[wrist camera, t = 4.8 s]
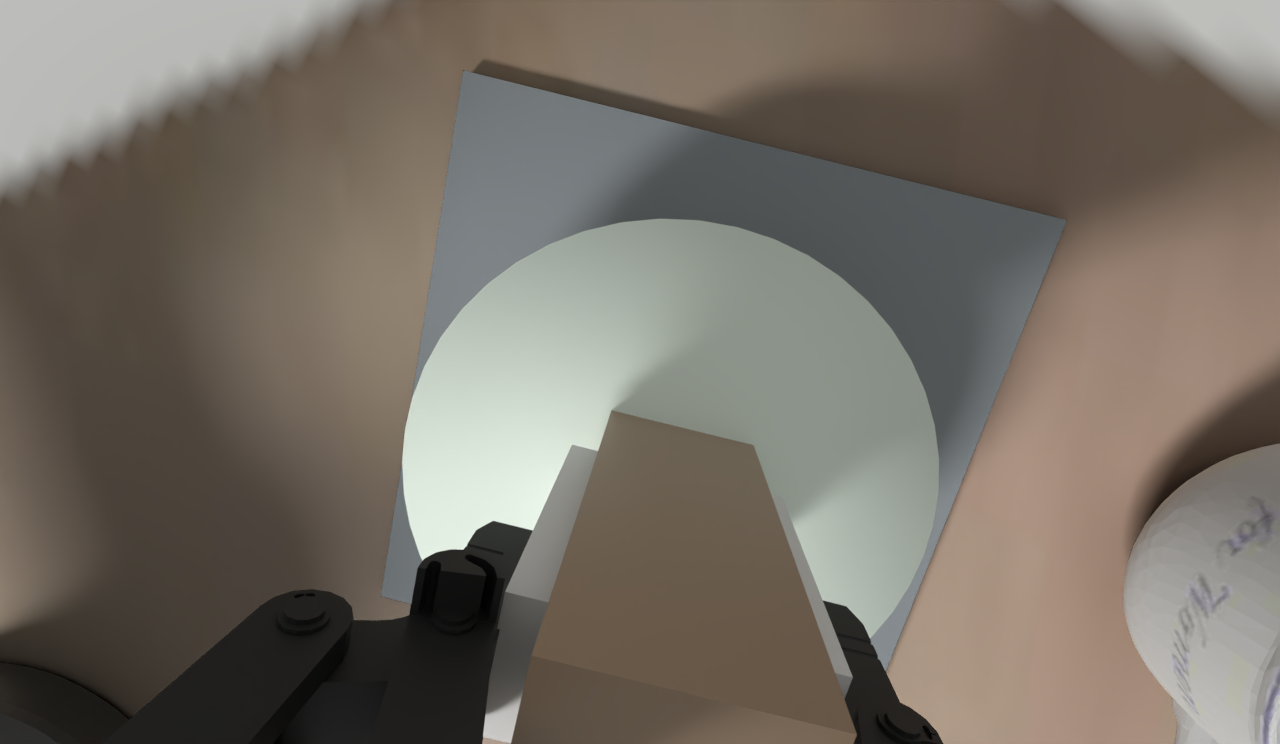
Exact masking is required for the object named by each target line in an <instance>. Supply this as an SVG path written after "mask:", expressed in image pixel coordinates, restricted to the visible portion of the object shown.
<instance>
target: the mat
mask: <svg viewBox="0 0 1280 744" xmlns="http://www.w3.org/2000/svg"><path fill="white" fill-rule="evenodd" d="M650 219H682V220H700V221H706V222H712V223H717V224H723V225H729V226H734V227H739V228H742V229H745V230H748V231H751V232H754V233H757V234H760V235H763V236H767V237H770V238H773V239H775V240H777V241H779V242H781V243H784V244H786V245H788V246H790V247H792V248H794V249H796V250H798V251H800V252H802V253H804V254H807V255H809V256H810V257H812V258H813V259H815V260H816V261H818V262H819V263H821V264H822V265H824V266H825V267H827V268H828V269H830V270H831V271H833V272H834V273H836V274H837V275H839V276H840V277H841V278H842V279H844V280H845V281H846V282H847V283H848V284H849V285H850V286H852V287H853V288H854V289H855V290H856V291H857V292H858V293H859V294H861V295H862V296H863V297H864V298H865V299H866V300H867V301H868V302H869V303H870V304H871V305H872V306H873V308H874V309H875V310H876V311H877V312H878V313H879V315H880V316H881V317H882V318H883V319H884V320H885V322H886V323H887V324H888V325H889V326H890V327H891V329H892V330H893V332H894V333H895V335H896V336H897V338H898V340H899V341H900V343H901V344H902V346H903V348H904V349H905V351H906V352H907V354H908V355H909V357H910V359H911V361H912V363H913V365H914V367H915V370H916V372H917V374H918V376H919V379H920V381H921V383H922V385H923V388H924V390H925V392H926V396H927V399H928V403H929V407H930V410H931V414H932V417H933V421H934V424H935V431H936V439H937V447H938V455H939V491H938V499H937V505H936V511H935V517H934V523H933V527H932V531H931V534H930V537H929V540H928V543H927V547H926V550H925V553H924V556H923V559H922V561H921V563H920V565H919V567H918V569H917V571H916V573H915V576H914V578H913V580H912V582H911V584H910V586H909V588H908V589H907V591H906V592H905V594H904V595H903V597H902V598H901V600H900V602H899V603H898V605H897V606H896V608H895V609H894V611H893V612H892V614H891V615H890V616H889V617H888V618H887V620H886V621H885V622H884V623H883V624H882V625H881V627H880V628H879V629H878V630H877V631H876V633H875V634H874V635H873V636H872V637H871V638H870V640H871V645H873V646H874V648H875V650H876V653H877V655H878V659H879V660H880V661H881V663H882V665H883V668H884V670H885V671H886V669H887V666H888V664H889V661H890V659H891V656H892V654H893V651H894V649H895V646H896V644H897V641H898V639H899V636H900V634H901V631H902V629H903V626H904V624H905V621H906V619H907V616H908V614H909V612H910V609H911V607H912V604H913V602H914V599H915V597H916V594H917V592H918V589H919V587H920V584H921V582H922V579H923V577H924V574H925V572H926V569H927V567H928V564H929V562H930V559H931V557H932V554H933V552H934V549H935V547H936V544H937V542H938V539H939V537H940V534H941V532H942V530H943V527H944V525H945V522H946V520H947V517H948V515H949V512H950V510H951V507H952V505H953V502H954V500H955V497H956V495H957V492H958V490H959V487H960V485H961V482H962V480H963V477H964V475H965V472H966V470H967V467H968V465H969V462H970V460H971V457H972V455H973V452H974V450H975V447H976V445H977V443H978V440H979V438H980V435H981V433H982V430H983V428H984V425H985V423H986V420H987V418H988V415H989V413H990V410H991V408H992V405H993V403H994V400H995V398H996V395H997V393H998V390H999V388H1000V385H1001V383H1002V380H1003V378H1004V375H1005V373H1006V370H1007V368H1008V365H1009V363H1010V361H1011V358H1012V356H1013V353H1014V351H1015V348H1016V346H1017V343H1018V341H1019V338H1020V336H1021V333H1022V331H1023V328H1024V326H1025V323H1026V321H1027V318H1028V316H1029V313H1030V311H1031V308H1032V306H1033V303H1034V301H1035V298H1036V296H1037V293H1038V291H1039V288H1040V286H1041V283H1042V281H1043V279H1044V276H1045V274H1046V271H1047V269H1048V266H1049V264H1050V261H1051V259H1052V256H1053V254H1054V251H1055V249H1056V246H1057V244H1058V241H1059V239H1060V236H1061V234H1062V231H1063V229H1064V226H1065V224H1066V221H1067V220H1065V219H1061V218H1056V217H1052V216H1048V215H1044V214H1040V213H1036V212H1032V211H1028V210H1024V209H1020V208H1016V207H1012V206H1008V205H1004V204H1000V203H996V202H992V201H988V200H984V199H980V198H976V197H972V196H968V195H964V194H960V193H956V192H952V191H948V190H944V189H940V188H936V187H932V186H928V185H923V184H919V183H915V182H911V181H907V180H903V179H899V178H895V177H891V176H887V175H883V174H879V173H875V172H871V171H867V170H863V169H859V168H855V167H851V166H847V165H843V164H839V163H835V162H831V161H827V160H823V159H819V158H815V157H811V156H807V155H803V154H799V153H795V152H791V151H786V150H782V149H778V148H774V147H770V146H766V145H762V144H758V143H754V142H750V141H746V140H742V139H738V138H734V137H730V136H726V135H722V134H718V133H714V132H710V131H706V130H702V129H698V128H694V127H690V126H686V125H682V124H678V123H674V122H670V121H666V120H662V119H658V118H653V117H649V116H645V115H641V114H637V113H633V112H629V111H625V110H621V109H617V108H613V107H609V106H605V105H601V104H597V103H593V102H589V101H585V100H581V99H577V98H573V97H569V96H565V95H561V94H557V93H553V92H549V91H545V90H541V89H537V88H533V87H529V86H525V85H521V84H516V83H512V82H508V81H504V80H500V79H496V78H492V77H488V76H484V75H480V74H476V73H472V72H468V71H464V70H463V75H462V82H461V88H460V94H459V101H458V107H457V113H456V120H455V126H454V133H453V139H452V145H451V152H450V158H449V164H448V171H447V177H446V184H445V190H444V196H443V203H442V209H441V215H440V222H439V228H438V234H437V241H436V247H435V254H434V260H433V266H432V273H431V279H430V285H429V292H428V298H427V305H426V311H425V317H424V324H423V330H422V336H421V343H420V349H419V356H418V362H417V368H416V375H415V381H414V387H413V394H412V397H413V395H414V392H415V389H416V387H417V384H418V382H419V379H420V376H421V374H422V371H423V369H424V366H425V364H426V363H427V361H428V359H429V357H430V355H431V354H432V352H433V350H434V348H435V346H436V345H437V343H438V341H439V339H440V337H441V336H442V335H443V333H444V332H445V331H446V329H447V328H448V327H449V325H450V324H451V323H452V321H453V320H454V319H455V318H456V316H457V315H458V314H459V312H460V311H461V310H462V308H463V307H464V306H465V305H467V304H468V303H469V302H470V301H471V300H472V299H473V298H474V297H475V296H476V295H477V294H478V293H479V292H480V291H481V290H482V289H483V288H484V287H485V286H486V285H487V284H488V283H489V282H491V281H492V280H493V279H495V278H496V277H497V276H499V275H500V274H501V273H503V272H504V271H505V270H507V269H508V268H509V267H511V266H512V265H513V264H515V263H516V262H518V261H520V260H521V259H523V258H525V257H527V256H529V255H531V254H532V253H534V252H536V251H538V250H540V249H541V248H543V247H545V246H547V245H549V244H551V243H554V242H557V241H559V240H562V239H564V238H567V237H570V236H572V235H575V234H577V233H580V232H583V231H586V230H590V229H595V228H599V227H603V226H607V225H612V224H616V223H620V222H629V221H640V220H650ZM411 401H412V400H411ZM402 458H403V457H402ZM421 562H422V559H421V557H420V554H419V551H418V548H417V545H416V542H415V539H414V536H413V533H412V530H411V527H410V524H409V518H408V513H407V508H406V503H405V497H404V487H403V469H402V464H401V470H400V477H399V483H398V489H397V496H396V502H395V508H394V515H393V521H392V527H391V534H390V540H389V547H388V553H387V559H386V566H385V572H384V578H383V585H382V591H381V597H385V598H389V599H393V600H397V601H400V602H404V603H408V604H411V603H412V597H413V591H414V586H415V580H416V574H417V568H418V567H419V565H420V564H421Z"/></svg>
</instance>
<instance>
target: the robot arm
mask: <svg viewBox="0 0 1280 744" xmlns="http://www.w3.org/2000/svg"><path fill="white" fill-rule="evenodd" d="M597 453H598V451H596V450H592V449H588V448H584V447H580V446H576V445H572V446H571V448H570V450H569V452H568V455H567V457H566V459H565V461H564V463H563V466H562V468H561V470H560V472H559V474H558V477H557V479H556V481H555V483H554V485H553V488H552V490H551V492H550V494H549V496H548V499H547V501H546V503H545V505H544V507H543V510H542V512H541V514H540V516H539V518H538V521H537V523H536V525H535V527H534V529H533V530H529V529H525V528H521V527H517V526H512V525H508V524H504V523H500V522H496V521H492V522H490V523H488V524H486V525H485V526H483V527H481V528H479V529H477V530H476V531H475V533H474V534H473V536H472V537H471V539H470V540H469V542H468V544H467V547H465V548H464V550H457V549H450V550H445V551H440V552H436V553H434V554H432V555H430V556H428V557H426V558H425V559H424V560H423V561H422V562H421V564H420V565H419V567H418V568H417V574H416V580H415V586H414V591H413V597H412V603H411V609H410V614H409V616H406V617H402V618H398V619H393V620H380V621H368V620H353V613H352V607H351V606H350V605H349V604H348V602H347V601H346V600H345V599H344V598H342V597H340V596H338V595H335V594H333V593H331V592H326V591H319V590H301V591H292V592H289V593H286V594H283V595H279V596H276V597H274V598H272V599H271V600H269V601H268V602H266V603H264V604H263V605H261V606H260V607H259V608H258V609H256V610H255V611H254V612H253V613H252V614H251V615H250V616H248V617H247V618H246V619H245V620H244V621H243V622H241V623H240V624H239V625H238V626H237V627H236V628H235V629H233V630H232V631H231V632H230V633H229V634H228V635H226V636H225V637H224V638H223V639H222V640H221V641H220V642H218V643H217V644H216V645H215V646H214V647H213V648H211V649H210V650H209V651H208V652H207V653H206V654H205V655H203V656H202V657H201V658H200V659H199V660H198V661H196V662H195V663H194V664H193V665H192V666H191V667H190V668H188V669H187V670H186V671H185V672H184V673H183V674H182V675H180V676H179V677H178V678H177V679H176V680H175V681H173V682H172V683H171V684H170V685H169V686H168V687H167V688H165V689H164V690H163V691H162V692H161V693H160V694H158V695H157V696H156V697H155V698H154V699H153V700H152V701H150V702H149V703H148V704H147V705H146V706H145V707H143V708H142V709H141V710H140V711H139V712H138V713H137V714H135V715H134V716H133V717H132V718H131V719H130V720H128V719H127V718H126V717H125V716H124V715H123V714H121V713H120V712H119V711H118V710H116V709H115V708H114V707H113V706H111V705H110V704H108V703H107V702H106V701H104V700H103V699H101V698H99V697H98V696H96V695H95V694H93V693H91V692H90V691H88V690H86V689H84V688H83V687H81V686H79V685H77V684H75V683H73V682H71V681H68V680H66V679H63V678H61V677H59V676H56V675H53V674H51V673H48V672H45V671H41V670H38V669H34V668H30V667H26V666H21V665H15V664H8V663H0V744H482V740H483V737H486V738H490V739H494V740H498V741H502V742H506V743H511V741H512V737H513V732H514V728H515V724H516V719H517V715H518V710H519V706H520V702H521V697H522V693H523V689H524V684H525V680H526V676H527V671H528V667H529V663H530V658H531V654H532V651H533V648H534V645H535V642H536V639H537V636H538V633H539V630H540V627H541V624H542V621H543V618H544V615H545V612H546V609H547V606H548V602H549V599H550V596H551V593H552V590H553V587H554V584H555V581H556V578H557V575H558V572H559V569H560V566H561V563H562V560H563V557H564V554H565V551H566V547H567V544H568V541H569V538H570V535H571V532H572V529H573V526H574V523H575V520H576V517H577V514H578V511H579V508H580V505H581V502H582V499H583V496H584V493H585V489H586V486H587V483H588V480H589V477H590V474H591V471H592V468H593V465H594V462H595V459H596V456H597ZM771 495H772V498H773V501H774V504H775V507H776V509H777V512H778V515H779V518H780V521H781V523H782V526H783V529H784V532H785V535H786V537H787V540H788V543H789V546H790V549H791V551H792V554H793V557H794V560H795V563H796V565H797V568H798V571H799V574H800V577H801V579H802V582H803V585H804V588H805V591H806V593H807V596H808V599H809V602H810V605H811V607H812V610H813V613H814V616H815V619H816V621H817V624H818V627H819V630H820V633H821V635H822V638H823V641H824V644H825V647H826V649H827V652H828V655H829V658H830V660H831V663H832V666H833V669H834V672H835V674H836V677H837V680H838V683H839V686H840V688H841V691H842V694H843V697H844V700H845V702H846V705H847V708H848V711H849V714H850V716H851V719H852V722H853V725H854V728H855V730H856V733H857V736H856V738H855V741H854V744H943V742H942V740H941V738H940V737H939V735H938V733H937V731H936V730H935V729H934V728H933V727H932V726H931V725H930V723H929V722H928V721H927V720H926V719H925V718H923V717H922V716H921V715H919V714H918V713H917V712H915V711H914V710H913V709H911V708H910V707H908V706H906V705H904V704H902V703H900V702H899V699H898V697H897V695H896V693H895V691H894V689H893V687H892V685H891V682H890V680H889V678H888V676H887V674H886V672H885V670H884V668H883V665H882V663H881V661H880V660H879V659H878V655H877V653H876V650H875V648H874V646H873V645H871V640H870V638H869V636H868V633H867V631H866V629H865V627H864V625H863V623H862V622H861V621H860V620H859V619H858V618H857V617H856V616H855V615H854V614H853V613H852V612H851V611H850V610H849V609H848V607H847V606H843V605H839V604H835V603H831V602H827V601H823V600H822V597H821V595H820V592H819V590H818V587H817V585H816V582H815V580H814V577H813V574H812V572H811V569H810V567H809V564H808V562H807V559H806V557H805V554H804V552H803V549H802V546H801V544H800V541H799V539H798V536H797V534H796V531H795V529H794V526H793V523H792V521H791V518H790V516H789V513H788V511H787V508H786V506H785V503H784V500H783V498H782V497H781V496H777V495H773V494H771Z"/></svg>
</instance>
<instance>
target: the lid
mask: <svg viewBox="0 0 1280 744" xmlns="http://www.w3.org/2000/svg"><path fill="white" fill-rule="evenodd" d="M572 445H576V446H580V447H584V448H588V449H592V450H596V451H598V453H597V456H596V459H595V462H594V465H593V468H592V471H591V474H590V477H589V480H588V483H587V486H586V489H585V493H584V496H583V499H582V502H581V505H580V508H579V511H578V514H577V517H576V520H575V523H574V526H573V529H572V532H571V535H570V538H569V541H568V544H567V547H566V551H565V554H564V557H563V560H562V563H561V566H560V569H559V572H558V575H557V578H556V581H555V584H554V587H553V590H552V593H551V596H550V599H549V602H548V606H547V609H546V612H545V615H544V618H543V621H542V624H541V627H540V630H539V633H538V636H537V639H536V642H535V645H534V648H533V651H532V654H531V658H530V663H529V667H528V671H527V676H526V680H525V684H524V689H523V693H522V697H521V702H520V706H519V710H518V715H517V719H516V724H515V728H514V732H513V737H512V741H511V744H854V741H855V738H856V736H857V733H856V730H855V728H854V725H853V722H852V719H851V716H850V714H849V711H848V708H847V705H846V702H845V700H844V697H843V694H842V691H841V688H840V686H839V683H838V680H837V677H836V674H835V672H834V669H833V666H832V663H831V660H830V658H829V655H828V652H827V649H826V647H825V644H824V641H823V638H822V635H821V633H820V630H819V627H818V624H817V621H816V619H815V616H814V613H813V610H812V607H811V605H810V602H809V599H808V596H807V593H806V591H805V588H804V585H803V582H802V579H801V577H800V574H799V571H798V568H797V565H796V563H795V560H794V557H793V554H792V551H791V549H790V546H789V543H788V540H787V537H786V535H785V532H784V529H783V526H782V523H781V521H780V518H779V515H778V512H777V509H776V507H775V504H774V501H773V498H772V495H771V494H773V495H777V496H781V497H782V498H783V500H784V503H785V506H786V508H787V511H788V513H789V516H790V518H791V521H792V523H793V526H794V529H795V531H796V534H797V536H798V539H799V541H800V544H801V546H802V549H803V552H804V554H805V557H806V559H807V562H808V564H809V567H810V569H811V572H812V574H813V577H814V580H815V582H816V585H817V587H818V590H819V592H820V595H821V597H822V600H823V601H827V602H831V603H835V604H839V605H843V606H847V607H848V609H849V610H850V611H851V612H852V613H853V614H854V615H855V616H856V617H857V618H858V619H859V620H860V621H861V622H862V623H863V625H864V627H865V629H866V631H867V633H868V636H869V638H871V637H872V636H873V635H874V634H875V633H876V631H877V630H878V629H879V628H880V627H881V625H882V624H883V623H884V622H885V621H886V620H887V618H888V617H889V616H890V615H891V614H892V612H893V611H894V609H895V608H896V606H897V605H898V603H899V602H900V600H901V598H902V597H903V595H904V594H905V592H906V591H907V589H908V588H909V586H910V584H911V582H912V580H913V578H914V576H915V573H916V571H917V569H918V567H919V565H920V563H921V561H922V559H923V556H924V553H925V550H926V547H927V543H928V540H929V537H930V534H931V531H932V527H933V523H934V517H935V511H936V505H937V499H938V491H939V455H938V447H937V439H936V431H935V424H934V421H933V417H932V414H931V410H930V407H929V403H928V399H927V396H926V392H925V390H924V388H923V385H922V383H921V381H920V379H919V376H918V374H917V372H916V370H915V367H914V365H913V363H912V361H911V359H910V357H909V355H908V354H907V352H906V351H905V349H904V348H903V346H902V344H901V343H900V341H899V340H898V338H897V336H896V335H895V333H894V332H893V330H892V329H891V327H890V326H889V325H888V324H887V323H886V322H885V320H884V319H883V318H882V317H881V316H880V315H879V313H878V312H877V311H876V310H875V309H874V308H873V306H872V305H871V304H870V303H869V302H868V301H867V300H866V299H865V298H864V297H863V296H862V295H861V294H859V293H858V292H857V291H856V290H855V289H854V288H853V287H852V286H850V285H849V284H848V283H847V282H846V281H845V280H844V279H842V278H841V277H840V276H839V275H837V274H836V273H834V272H833V271H831V270H830V269H828V268H827V267H825V266H824V265H822V264H821V263H819V262H818V261H816V260H815V259H813V258H812V257H810V256H809V255H807V254H804V253H802V252H800V251H798V250H796V249H794V248H792V247H790V246H788V245H786V244H784V243H781V242H779V241H777V240H775V239H773V238H770V237H767V236H763V235H760V234H757V233H754V232H751V231H748V230H745V229H742V228H739V227H734V226H729V225H723V224H717V223H712V222H706V221H700V220H682V219H650V220H640V221H629V222H620V223H616V224H612V225H607V226H603V227H599V228H595V229H590V230H586V231H583V232H580V233H577V234H575V235H572V236H570V237H567V238H564V239H562V240H559V241H557V242H554V243H551V244H549V245H547V246H545V247H543V248H541V249H540V250H538V251H536V252H534V253H532V254H531V255H529V256H527V257H525V258H523V259H521V260H520V261H518V262H516V263H515V264H513V265H512V266H511V267H509V268H508V269H507V270H505V271H504V272H503V273H501V274H500V275H499V276H497V277H496V278H495V279H493V280H492V281H491V282H489V283H488V284H487V285H486V286H485V287H484V288H483V289H482V290H481V291H480V292H479V293H478V294H477V295H476V296H475V297H474V298H473V299H472V300H471V301H470V302H469V303H468V304H467V305H465V306H464V307H463V308H462V310H461V311H460V312H459V314H458V315H457V316H456V318H455V319H454V320H453V321H452V323H451V324H450V325H449V327H448V328H447V329H446V331H445V332H444V333H443V335H442V336H441V337H440V339H439V341H438V343H437V345H436V346H435V348H434V350H433V352H432V354H431V355H430V357H429V359H428V361H427V363H426V364H425V366H424V369H423V371H422V374H421V376H420V379H419V382H418V384H417V387H416V389H415V392H414V395H413V397H412V401H411V406H410V410H409V414H408V419H407V423H406V427H405V435H404V446H403V458H402V469H403V487H404V497H405V503H406V508H407V513H408V518H409V524H410V527H411V530H412V533H413V536H414V539H415V542H416V545H417V548H418V551H419V554H420V557H421V559H422V561H423V560H424V559H425V558H426V557H428V556H430V555H432V554H434V553H436V552H440V551H445V550H450V549H457V550H464V548H465V547H467V544H468V542H469V540H470V539H471V537H472V536H473V534H474V533H475V531H476V530H477V529H479V528H481V527H483V526H485V525H486V524H488V523H490V522H492V521H496V522H500V523H504V524H508V525H512V526H517V527H521V528H525V529H529V530H533V529H534V527H535V525H536V523H537V521H538V518H539V516H540V514H541V512H542V510H543V507H544V505H545V503H546V501H547V499H548V496H549V494H550V492H551V490H552V488H553V485H554V483H555V481H556V479H557V477H558V474H559V472H560V470H561V468H562V466H563V463H564V461H565V459H566V457H567V455H568V452H569V450H570V448H571V446H572Z"/></svg>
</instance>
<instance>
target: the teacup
mask: <svg viewBox="0 0 1280 744" xmlns="http://www.w3.org/2000/svg"><path fill="white" fill-rule="evenodd" d="M1123 607H1124V612H1125V617H1126V622H1127V626H1128V630H1129V632H1130V635H1131V637H1132V640H1133V643H1134V645H1135V647H1136V649H1137V651H1138V652H1139V654H1140V656H1141V658H1142V659H1143V661H1144V662H1145V664H1146V666H1147V667H1148V669H1149V670H1150V671H1151V673H1152V674H1153V675H1154V676H1155V678H1156V679H1157V680H1158V681H1159V683H1160V684H1161V685H1162V686H1163V688H1164V689H1165V690H1166V691H1167V692H1168V693H1169V694H1170V695H1171V696H1172V707H1173V711H1174V714H1175V717H1176V720H1177V729H1176V736H1175V743H1174V744H1280V444H1274V445H1269V446H1265V447H1260V448H1257V449H1253V450H1250V451H1247V452H1243V453H1240V454H1237V455H1234V456H1232V457H1229V458H1227V459H1225V460H1222V461H1220V462H1218V463H1216V464H1214V465H1212V466H1210V467H1209V468H1207V469H1205V470H1204V471H1202V472H1201V473H1199V474H1197V475H1196V476H1194V477H1192V478H1191V479H1189V480H1188V481H1186V482H1185V483H1184V484H1183V485H1181V486H1180V487H1179V488H1178V489H1176V490H1175V491H1174V492H1173V493H1172V494H1171V495H1170V496H1169V497H1168V498H1167V499H1166V500H1165V501H1163V502H1162V504H1161V505H1160V506H1159V507H1158V509H1157V510H1156V511H1155V512H1154V513H1153V515H1152V516H1151V517H1150V518H1149V520H1148V521H1147V522H1146V524H1145V526H1144V527H1143V529H1142V531H1141V533H1140V535H1139V536H1138V538H1137V540H1136V542H1135V544H1134V546H1133V548H1132V551H1131V554H1130V557H1129V560H1128V563H1127V566H1126V571H1125V577H1124V585H1123Z"/></svg>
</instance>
